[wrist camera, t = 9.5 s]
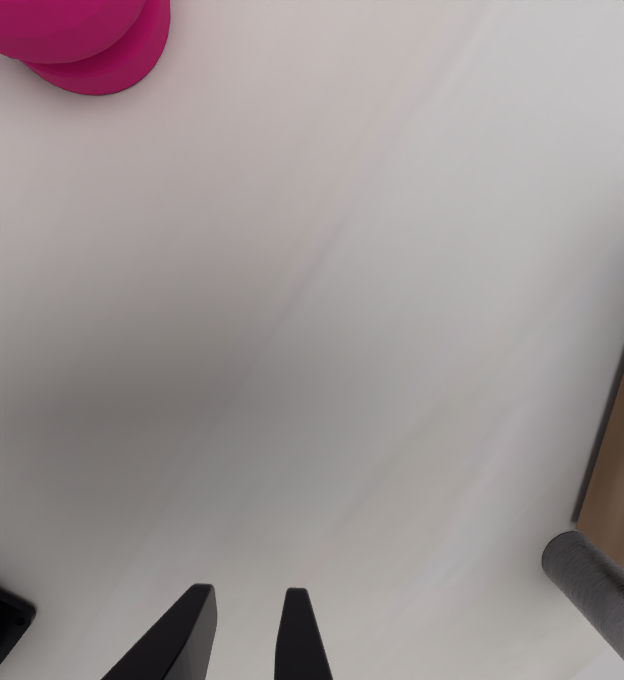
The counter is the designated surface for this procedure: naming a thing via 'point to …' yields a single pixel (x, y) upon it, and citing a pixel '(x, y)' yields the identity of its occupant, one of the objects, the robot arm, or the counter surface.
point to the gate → (607, 489)
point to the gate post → (589, 583)
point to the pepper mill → (85, 40)
